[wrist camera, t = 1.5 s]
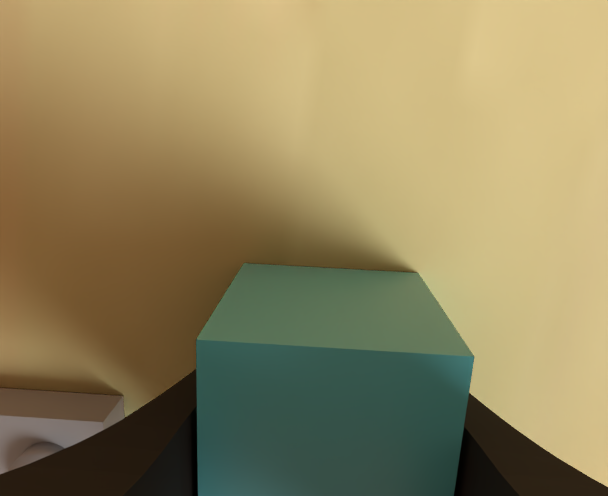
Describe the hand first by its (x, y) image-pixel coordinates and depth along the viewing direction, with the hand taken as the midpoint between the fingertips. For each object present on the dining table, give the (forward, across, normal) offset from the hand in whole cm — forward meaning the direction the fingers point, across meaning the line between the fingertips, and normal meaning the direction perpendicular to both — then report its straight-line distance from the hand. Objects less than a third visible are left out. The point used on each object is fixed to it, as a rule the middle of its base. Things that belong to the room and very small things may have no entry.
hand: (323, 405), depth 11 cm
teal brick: (+1, 0, 0) cm, 1 cm away
